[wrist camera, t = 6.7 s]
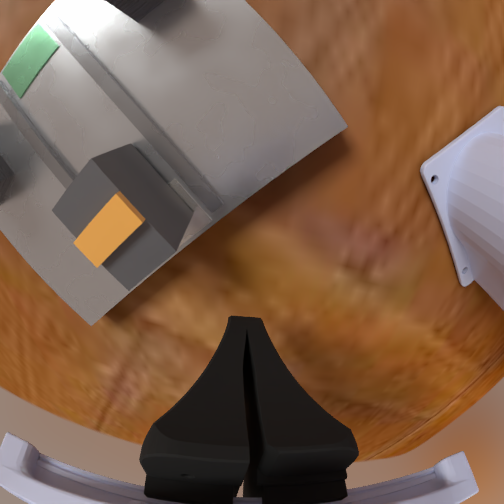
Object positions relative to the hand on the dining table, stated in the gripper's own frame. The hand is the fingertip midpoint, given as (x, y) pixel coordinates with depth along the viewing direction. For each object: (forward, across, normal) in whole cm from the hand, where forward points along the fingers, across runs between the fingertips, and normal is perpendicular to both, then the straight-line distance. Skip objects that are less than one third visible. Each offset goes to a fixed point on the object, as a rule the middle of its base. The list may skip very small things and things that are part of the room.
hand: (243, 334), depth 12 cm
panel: (+4, +8, -8) cm, 12 cm away
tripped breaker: (+2, +5, -5) cm, 7 cm away
